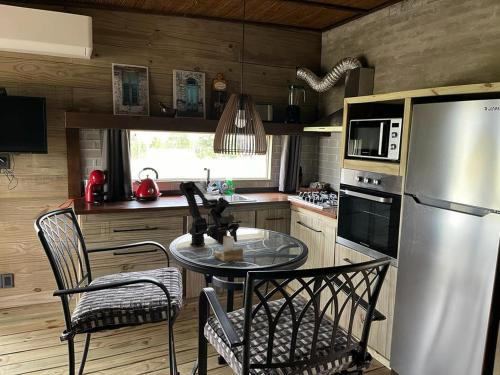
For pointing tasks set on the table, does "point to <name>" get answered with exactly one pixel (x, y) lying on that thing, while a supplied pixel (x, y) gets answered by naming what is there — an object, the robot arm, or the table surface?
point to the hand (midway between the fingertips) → (229, 243)
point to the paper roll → (227, 243)
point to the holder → (229, 255)
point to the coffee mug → (223, 233)
